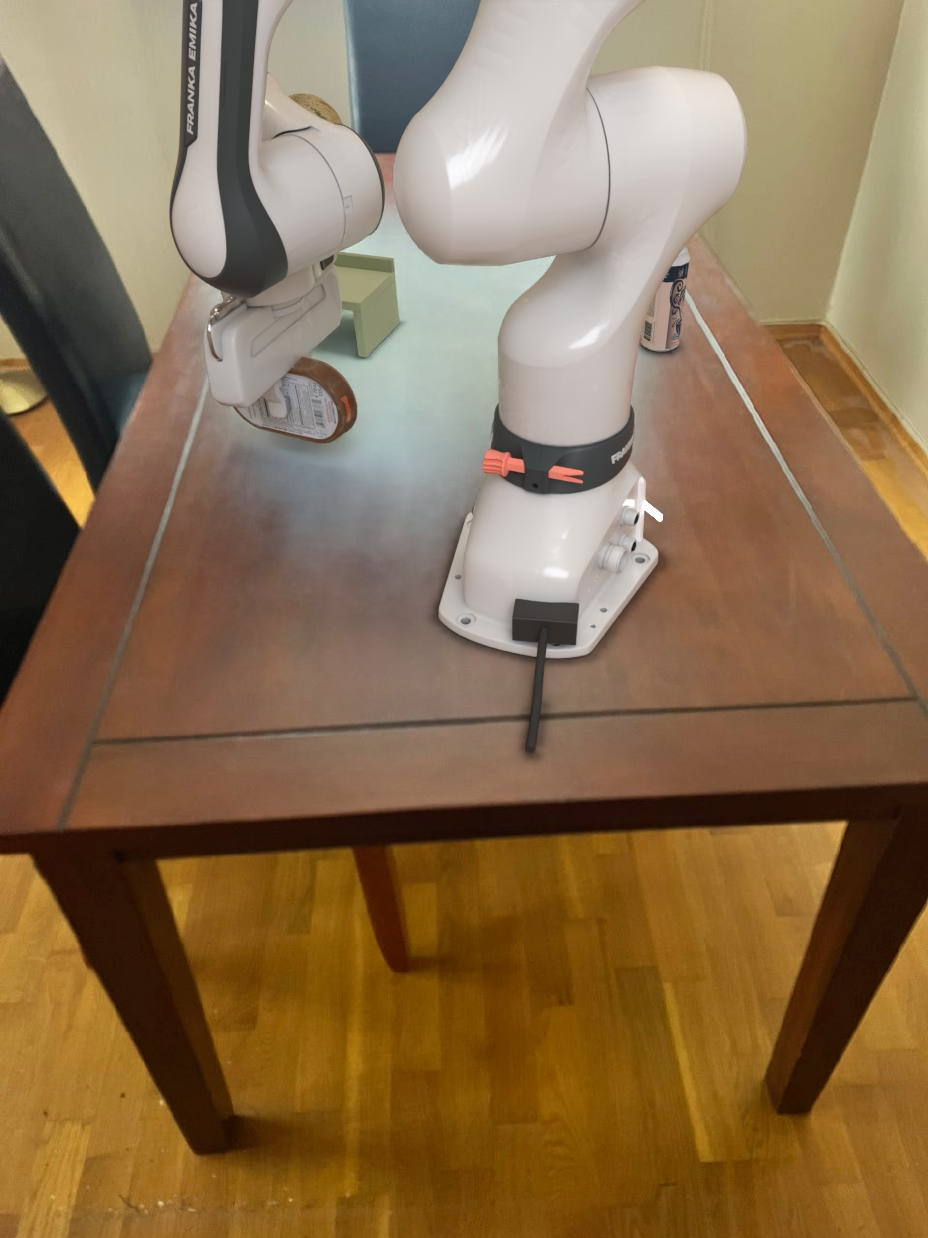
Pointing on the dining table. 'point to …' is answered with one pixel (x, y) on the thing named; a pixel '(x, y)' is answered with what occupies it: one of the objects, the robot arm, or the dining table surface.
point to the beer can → (667, 308)
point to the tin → (309, 404)
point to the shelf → (368, 297)
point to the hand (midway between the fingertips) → (291, 404)
